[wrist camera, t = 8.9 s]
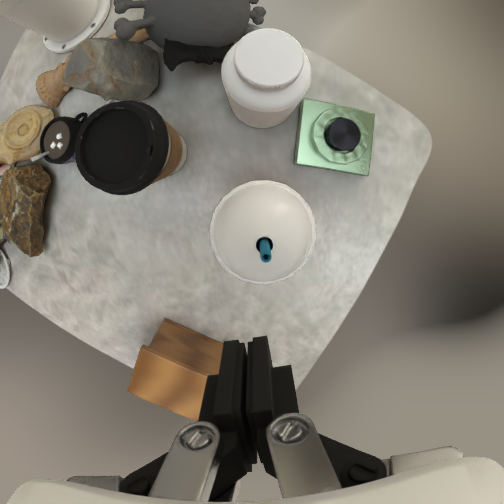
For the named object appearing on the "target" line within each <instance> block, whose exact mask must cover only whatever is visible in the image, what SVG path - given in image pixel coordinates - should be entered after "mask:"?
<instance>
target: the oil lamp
mask: <svg viewBox="0 0 504 504" xmlns="http://www.w3.org/2000/svg"><path fill="white" fill-rule="evenodd" d="M52 119H54V114H53V111H52V109H48V108H46V107H43V106H39V105H30V106H25V107H23V108H21V109H19V110H18V111H16V112H15V113H14V114H13V115H12V116H10V118H9V119H8V120H7V122H4V123H1V124H0V164H2V163H7V164H8V165H13V164H15V163H16V162H17V161H27V160H31V159H30V158H32V157H34V156H37V155H39V154H40V153H41V150H40V137H41V134H42V131H43V129H44V127H45V126H46V125H47V124H48V122H50V121H51V120H52Z"/></svg>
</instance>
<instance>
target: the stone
mask: <svg viewBox="0 0 504 504" xmlns="http://www.w3.org/2000/svg"><path fill="white" fill-rule="evenodd" d="M158 79H159V62H158V53H157V52H156V51H155V50H153V49H152V48H150V47H149V46H147V45H144V44H141V43H138V42H134V41H129V40H120V39H116V38H88V39H86V40H84V41H82V42H80V43H79V44H78V45H77V46H76V48H75V49H74V50H73V52H72V54H71V56H70V59H69V61H68V63H67V64H66V68H65V73H64V77H63V82H64V84H65V85H69V86H71V87H74V88H77V89H80V90H83V91H86V92H89V93H93V94H97V95H100V96H101V97H102V98H104V100H105V101H109V100H114V99H116V100H120V101H130V100H131V101H135V100H140V99H146V98H147V97H148V96H149V95H150V94H151V93H152V92H153V90H154V89H155V88H156V87H157V84H158Z"/></svg>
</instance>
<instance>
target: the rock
mask: <svg viewBox="0 0 504 504" xmlns="http://www.w3.org/2000/svg"><path fill="white" fill-rule="evenodd" d="M50 184H51V179H50V176H49V174H48V173H47V172H46V171H44V170H43V169H42V167H41V165H36V164H27V165H24V166H19V167H15V168H12V169H8V170H6V171H5V172H3V177H2V181H1V183H0V222H1V225H2V230H3V234H4V236H5V237H7V238H9V239H10V240H11V241H13V242H14V243H15V244H16V245H17V246H18V248H19V249H20V250H21V251H22V252H23V253H25V254H27V255H28V256H30V257H33V256H39V255H40V254H41V253H42V252H43V247H42V239H43V234H44V228H43V212H44V201H45V199H46V195H47V191H48V190H49V188H50Z"/></svg>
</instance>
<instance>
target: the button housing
mask: <svg viewBox="0 0 504 504" xmlns="http://www.w3.org/2000/svg"><path fill="white" fill-rule="evenodd" d="M374 117H375V114H374V113H370V112H366V111H362V110H358V109H354V108H350V107H345V106H341V105H336V104H331V103H326V102H321V101H315V100H310V99H303V100H302V102H301V104H300V114H299V123H298V132H297V141H296V150H295V158H294V164H296V165H303V166H310V167H316V168H322V169H328V170H334V171H340V172H345V173H351V174H356V175H361V176H368V175H369V167H370V159H371V150H372V140H373V130H374ZM340 118H347V119H350V120H352V121H353V122H355V123H356V124H357V126H358V127H359V129H360V133H361V138H360V142H359V144H358V145H357V146H356V147H355V148H354V149H351V150H347V151H338V150H336V149H334V148H332V147H331V146H330V145H329V143H328V141H327V139H326V130H327V127H328V126H329V124H330V123H332V122H333V121H335V120H337V119H340Z"/></svg>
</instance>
